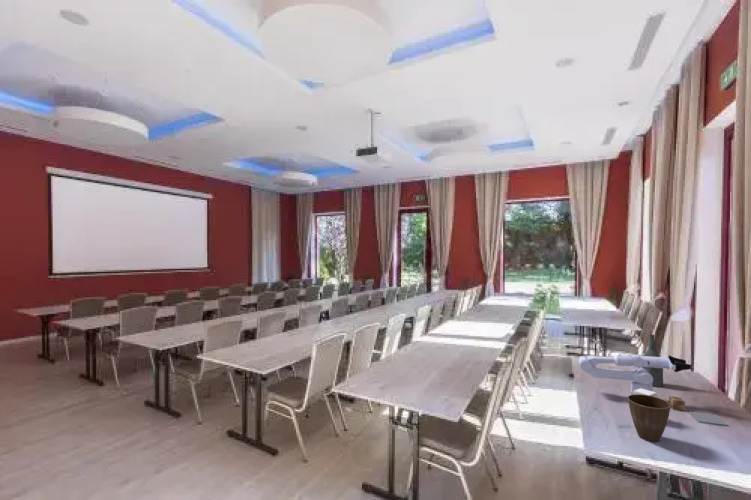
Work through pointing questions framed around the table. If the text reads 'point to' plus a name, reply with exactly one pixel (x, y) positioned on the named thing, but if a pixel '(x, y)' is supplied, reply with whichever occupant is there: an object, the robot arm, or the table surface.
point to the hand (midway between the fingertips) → (688, 364)
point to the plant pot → (649, 416)
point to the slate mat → (708, 419)
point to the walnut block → (677, 403)
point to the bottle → (655, 372)
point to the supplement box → (645, 392)
